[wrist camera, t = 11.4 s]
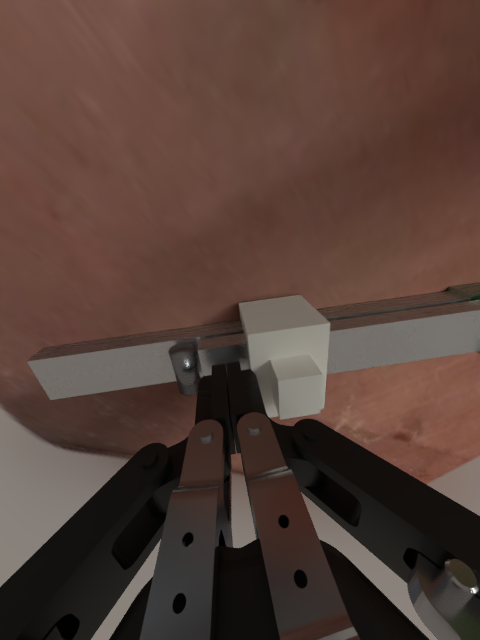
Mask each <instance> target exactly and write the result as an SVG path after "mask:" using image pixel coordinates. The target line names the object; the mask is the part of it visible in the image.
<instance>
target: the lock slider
mask: <svg viewBox="0 0 480 640" xmlns="http://www.w3.org/2000/svg"><path fill="white" fill-rule="evenodd" d="M239 311H240V319H241V322H242V326H243V330H244V334H245V338H246V342H247V351H248V360H249V369H251V370H252V371H253V372H254V373H255V374H256V376H257V380H258V384H259V388H260V391H261V395H262V399H263V403H264V407H265V410H266V413H267V415H268V417H269V418H270V417H276V416H279V419H280V420H282V419H288V418H294V417H300V416H306V415H312V414H318V413H320V409H324V402H325V388H326V375H327V361H328V348H329V334H330V322H329V321H328V320H327V319H326V318H325V317H323V316H322V315H321V314H320V313H319V312H318V311H317V310H316V309H315V308H314V307H313V306H312V305H311V304H310V303H309V302H308V301H306V300H305V299H304V298H303V297H302V296H301V295H294V296H287V297H279V298H272V299H265V300H257V301H250V302H243V303H239Z"/></svg>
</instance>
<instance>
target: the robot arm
mask: <svg viewBox="0 0 480 640" xmlns="http://www.w3.org/2000/svg"><path fill="white" fill-rule="evenodd" d="M226 367H227V371H226ZM234 438H235V442H234ZM235 444H236V450H237V453H241V458H242V464H243V471H244V476H245V481H246V486H247V492H248V496H249V502H250V507H251V512H252V517H253V523H254V527H255V534H256V540H255V541H253V542H251V543H249V544H247V545H246V546H244V547H242V548H233V541H232V528H231V454H236V452H235ZM301 492H302V493H303V494H304V495H305V496H307V497H308V498H309V499H310V500H311V501H312V502H314V503H315V504H316V505H317V506H318V507H319V508H320V509H322V510H323V511H324V512H325V513H326V514H327V515H329V516H330V517H331V518H332V519H334V521H336V522H337V523H338V524H339V525H340V526H341V527H342V528H344V529H345V530H346V531H347V532H349V533H350V534H351V535H352V536H353V537H354V538H355V539H356V540H358V541H359V542H360V543H361V544H362V545H363V546H365V547H366V548H367V549H368V550H369V551H370V552H372V553H373V554H374V555H375V556H376V557H377V558H378V559H380V560H381V561H382V562H383V563H384V564H385V565H387V566H388V567H389V568H390V569H391V570H392V571H394V572H395V573H396V574H397V575H398V576H399V577H401V578H402V579H403V580H404V581H405V582H406V583H407V584H408V593H409V596H410V599H411V602H412V604H413V607H414V609H415V611H416V613H417V614H418V616H419V617H420V619H421V620H422V622H423V623H424V624H425V626H426V627H427V628H428V629H429V630H430V631H431V632H432V633H433V635H434V636H435V637H436V638H437V639H438V640H480V516H478V515H477V514H475V513H473V512H472V511H470V510H468V509H467V508H465V507H463V506H461V505H460V504H458V503H456V502H455V501H453V500H451V499H450V498H448V497H446V496H445V495H443V494H441V493H439V492H438V491H436V490H434V489H433V488H431V487H429V486H428V485H426V484H424V483H423V482H421V481H419V480H417V479H416V478H414V477H412V476H411V475H409V474H407V473H406V472H404V471H402V470H401V469H399V468H397V467H395V466H394V465H392V464H390V463H389V462H387V461H385V460H384V459H382V458H380V457H378V456H377V455H375V454H373V453H372V452H370V451H368V450H367V449H365V448H363V447H362V446H360V445H358V444H356V443H355V442H353V441H351V440H350V439H348V438H346V437H345V436H343V435H341V434H339V433H338V432H336V431H334V430H333V429H331V428H329V427H328V426H326V425H324V424H323V423H321V422H319V421H317V420H314V419H303V420H300V421H298V422H297V423H296V424H295V425H294V427H293V426H285V425H280V424H277V423H275V422H274V421H272V420H271V419H270V418H269V417H268V415H267V413H266V410H265V407H264V403H263V399H262V395H261V391H260V388H259V384H258V380H257V376H256V374H255V373H254V372H253V371H252V370H251V369H247V370H241V367H240V362H239V361H236V362H229V363H226V365H225V363H223V364H216V365H212V375H208V376H203V377H202V379H201V380H200V382H199V383H198V394H197V406H196V417H195V426H194V427H193V428H192V429H191V431H190V433H189V436H188V437H187V438H186V439H184V440H183V441H181V442H180V443H178V444H175V445H173V446H171V447H169V448H167V447H166V446H165V445H164V444H161V443H152V444H149V445H147V446H145V447H143V448H142V449H141V450H139V451H138V452H137V453H136V454H135V455H134V456H133V457H132V458H131V459H130V460H129V461H128V462H127V463H126V464H125V465H124V466H123V467H122V468H121V469H120V470H119V471H118V472H117V473H116V474H115V475H114V476H113V477H112V478H111V479H110V480H109V481H108V482H107V483H106V484H105V485H104V486H103V487H102V488H101V489H100V490H99V491H98V492H97V493H96V494H95V495H94V496H93V497H92V498H90V500H89V501H87V502H86V504H84V506H83V507H81V508H80V509H79V510H78V511H77V512H76V513H75V514H74V515H73V516H72V517H71V518H70V519H69V520H68V521H67V522H66V523H65V524H64V525H63V526H62V527H61V528H60V529H59V530H58V531H57V532H56V533H55V534H54V535H53V536H52V537H51V538H50V539H49V540H48V541H47V542H46V543H45V544H44V545H43V546H42V547H41V548H40V549H39V550H38V551H37V552H36V553H35V554H34V555H33V556H32V557H31V558H30V559H29V560H28V561H26V562H25V564H24V565H23V566H22V567H21V568H20V569H19V570H17V571H16V573H14V574H13V575H12V576H11V577H10V578H9V579H8V580H7V581H6V582H5V583H4V584H3V585H2V586H1V587H0V640H91V638H92V637H93V635H94V634H95V632H96V631H97V630H98V628H99V627H100V625H101V624H102V622H103V621H104V619H105V618H106V617H107V615H108V614H109V612H110V611H111V609H112V608H113V607H114V605H115V604H116V602H117V600H118V599H119V598H120V597H121V595H122V594H123V592H124V591H125V589H126V588H127V586H128V585H129V584H130V582H131V581H132V579H133V578H134V576H135V575H136V574H137V572H138V570H139V569H140V568H141V566H142V565H143V564H144V562H145V561H146V559H147V558H148V556H149V555H150V553H151V552H152V551H153V549H154V548H155V546H156V545H157V543H158V542H159V541H160V539H161V542H160V547H159V552H158V556H157V561H156V566H155V570H154V575H153V577H152V578H151V579H150V580H149V581H148V583H147V584H146V585H145V586H144V587H143V589H142V590H141V591H140V593H139V594H138V595H137V597H136V598H135V600H134V601H133V603H132V604H131V606H130V607H129V609H128V611H127V612H126V614H125V615H124V617H123V619H122V620H121V622H120V623H119V625H118V626H117V628H116V630H115V631H114V633H113V634H112V636H111V638H110V639H109V640H429V639H428V638H427V637H426V636H425V635H424V634H423V633H422V632H421V631H420V630H419V629H418V628H417V627H416V626H415V625H414V624H413V623H412V622H411V621H410V620H409V619H408V618H407V617H406V616H405V615H404V614H403V613H402V612H401V611H400V610H399V609H398V608H397V607H396V606H395V605H394V604H393V603H392V602H391V601H390V600H389V599H388V598H387V597H386V596H385V595H384V594H383V593H382V592H381V591H380V590H379V589H378V588H377V587H376V586H375V585H374V584H373V583H372V582H371V581H370V580H369V579H368V578H367V577H366V576H365V575H364V574H363V573H362V572H361V571H360V570H359V569H358V568H357V567H356V566H355V565H354V564H353V563H352V562H351V561H350V560H349V559H348V558H347V557H345V556H344V555H343V554H342V553H341V552H339V551H338V550H337V549H336V548H334V547H332V546H331V545H329V544H327V543H326V542H323V541H321V540H319V538H318V536H317V533H316V531H315V528H314V525H313V523H312V520H311V517H310V515H309V512H308V510H307V507H306V504H305V502H304V499H303V497H302V494H301Z"/></svg>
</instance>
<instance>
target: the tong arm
mask: <svg viewBox="0 0 480 640" xmlns="http://www.w3.org/2000/svg"><path fill="white" fill-rule="evenodd" d="M329 322H330V334H329V348H328V361H327V374H332V373H339V372H345V371H352V370H358V369H365V368H372V367H378V366H385V365H391V364H398V363H404V362H411V361H418V360H424V359H431V358H437V357H444V356H451V355H457V354H464V353H470V352H477V353H479V354H480V299H479V300H474V301H467V302H460V303H453V304H446V305H439V306H432V307H425V308H418V309H411V310H403V311H396V312H389V313H382V314H375V315H368V316H361V317H354V318H347V319H340V320H333V321H329ZM198 354H199V359H200V363H201V368H202V372H203V376H208V375H212V365H216V364H223V363H225V365H226V363H229V362H236V361H239V362H240V367H241V370H247V369H249V360H248V351H247V342H246V338H245V334H244V333H240V334H233V335H226V336H219V337H212V338H205V339H199V344H198ZM226 371H227V367H226Z"/></svg>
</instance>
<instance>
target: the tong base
mask: <svg viewBox="0 0 480 640" xmlns="http://www.w3.org/2000/svg"><path fill="white" fill-rule="evenodd" d="M479 299H480V283H473V284H466V285H459V286H451V287H449V288H448V291H444V292H437V293H430V294H423V295H415V296H408V297H401V298H394V299H387V300H380V301H373V302H366V303H359V304H352V305H344V306H337V307H330V308H323V309H316V310H317V311H318V312H319V313H320V314H321V315H322V316H323V317H325V318H326V319H327V320H328V321H333V320H340V319H347V318H354V317H361V316H368V315H375V314H382V313H389V312H396V311H403V310H411V309H418V308H425V307H432V306H439V305H446V304H453V303H460V302H467V301H474V300H479ZM240 333H244V330H243V326H242V322H241V320H238V321H231V322H224V323H216V324H209V325H202V326H195V327H188V328H181V329H174V330H167V331H160V332H152V333H145V334H138V335H131V336H124V337H117V338H110V339H103V340H96V341H89V342H81V343H74V344H67V345H60V346H53V347H46V348H43V349H42V350H41V351H39V352H38V353H37V354H36V355H34V356H33V357H32V358H31V359H29V360H28V361H27V363H28V364H29V366H30V368H31V369H32V371H33V372H34V374H35V376H36V377H37V379H38V381H39V382H40V384H41V385H42V387H43V389H44V390H45V392H46V394H47V395H48V397H49V398H50V400H55V399H62V398H68V397H75V396H81V395H88V394H95V393H101V392H108V391H114V390H121V389H128V388H134V387H141V386H147V385H154V384H160V383H167V382H174V381H177V384H178V387H179V391H180V393H181V394H183V395H192V394H195V393H197V392H198V383H199V382H200V380H201V377H203V372H202V368H201V363H200V359H199V354H198V344H199V339H205V338H212V337H219V336H226V335H233V334H240Z"/></svg>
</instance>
